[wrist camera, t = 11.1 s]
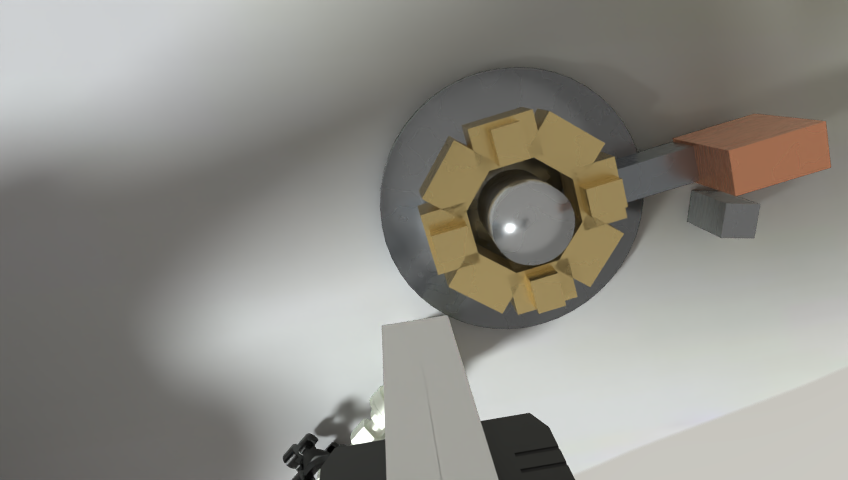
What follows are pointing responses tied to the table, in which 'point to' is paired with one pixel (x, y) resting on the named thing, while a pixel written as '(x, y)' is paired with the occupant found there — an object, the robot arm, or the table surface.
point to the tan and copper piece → (592, 191)
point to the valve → (316, 457)
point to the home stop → (723, 214)
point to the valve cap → (499, 189)
